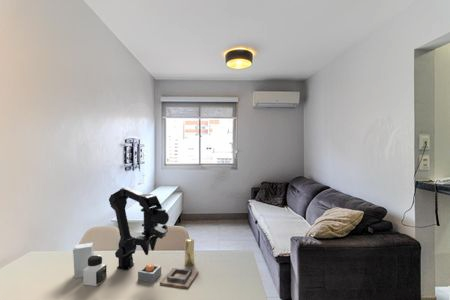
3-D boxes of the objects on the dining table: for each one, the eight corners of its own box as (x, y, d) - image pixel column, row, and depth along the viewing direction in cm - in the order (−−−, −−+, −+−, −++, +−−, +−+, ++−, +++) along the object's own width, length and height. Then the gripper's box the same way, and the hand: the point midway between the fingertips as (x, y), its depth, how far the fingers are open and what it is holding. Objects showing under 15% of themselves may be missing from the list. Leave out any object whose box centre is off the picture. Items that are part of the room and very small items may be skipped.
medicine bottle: (96, 286, 114) (96, 260, 113) (83, 284, 115) (82, 259, 115) (106, 278, 121) (106, 253, 120) (94, 276, 122) (93, 252, 122)
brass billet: (183, 265, 134) (183, 241, 133) (186, 261, 138) (186, 238, 138) (192, 266, 132) (192, 242, 132) (195, 262, 137) (195, 239, 137)
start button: (144, 273, 121) (143, 267, 121) (148, 269, 125) (148, 263, 124) (151, 274, 120) (151, 268, 120) (155, 270, 124) (155, 264, 124)
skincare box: (94, 270, 128) (94, 241, 128) (92, 276, 123) (92, 246, 122) (75, 273, 126) (75, 243, 125) (73, 279, 120) (72, 248, 120)
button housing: (138, 280, 119) (137, 271, 119) (147, 271, 127) (146, 264, 127) (153, 282, 117) (153, 273, 117) (161, 273, 125) (161, 265, 125)
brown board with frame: (159, 284, 115) (159, 279, 115) (172, 269, 129) (172, 265, 129) (187, 288, 112) (187, 283, 112) (198, 273, 126) (198, 268, 126)
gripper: (154, 228, 111) (155, 263, 111) (173, 216, 129) (173, 246, 129) (132, 226, 113) (133, 260, 114) (153, 215, 131) (153, 244, 132)
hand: (149, 252), depth 122 cm, fingers open, 5 cm apart
